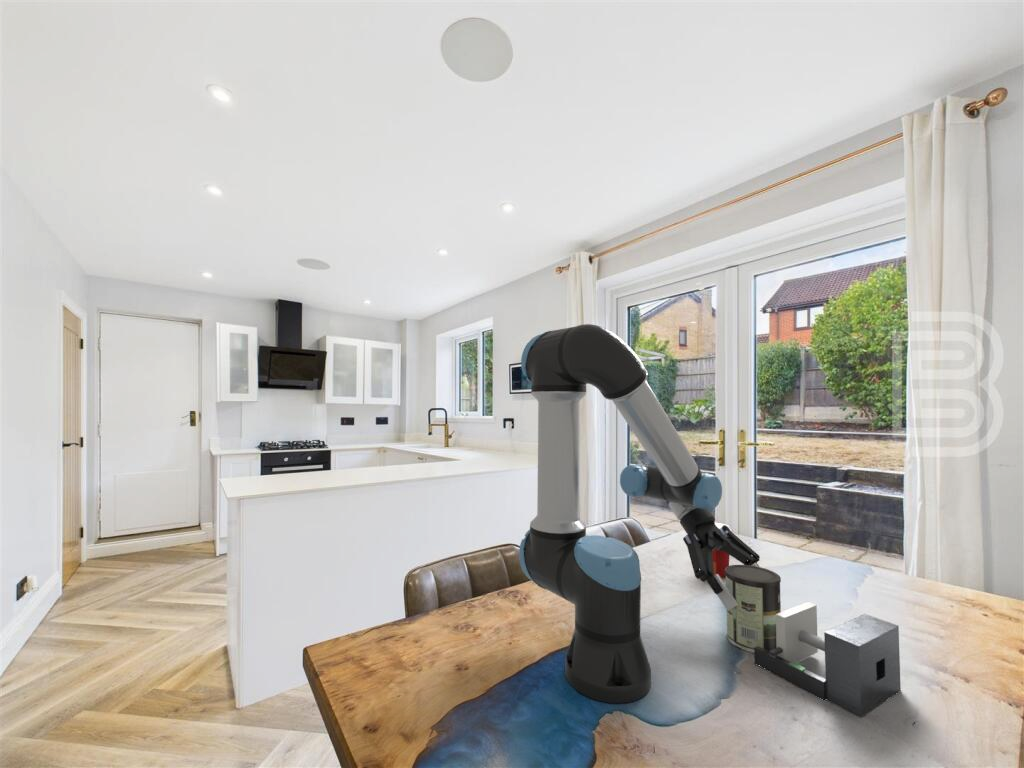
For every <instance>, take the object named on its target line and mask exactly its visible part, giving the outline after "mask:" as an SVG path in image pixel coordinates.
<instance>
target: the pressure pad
mask: <svg viewBox="0 0 1024 768" xmlns="http://www.w3.org/2000/svg"><path fill="white" fill-rule="evenodd" d="M776 645H777V648H776V649H773V650H771V651H769V654H770V655H771V656H776V655H777V656H779V657H781V658H783V659H786V660H788V661H790V662H794V663H796V664H798V662H801V661H803V660H805V659H807V658H810V656H812V655H815V654H817V653H819V651H818V650H820V651H822V652H824V653H825V638H823V637H820V636H818V608H817V604H814V603H811V602H809V601H807V602H804V603H802V604H799V605H796V606H794V607H791V608H788V609H785V610H783V611H781V612H780V613H778V614H776Z"/></svg>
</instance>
